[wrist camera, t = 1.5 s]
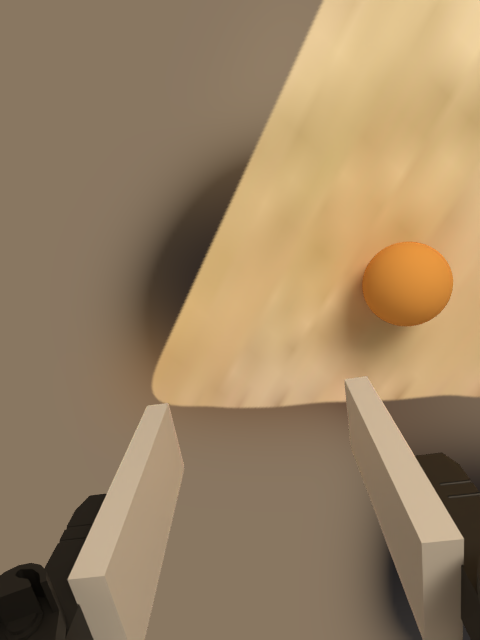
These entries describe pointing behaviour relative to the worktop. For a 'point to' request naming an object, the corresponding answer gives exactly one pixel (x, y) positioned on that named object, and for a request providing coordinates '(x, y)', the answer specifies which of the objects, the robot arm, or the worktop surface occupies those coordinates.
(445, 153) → the worktop surface
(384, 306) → the ball
